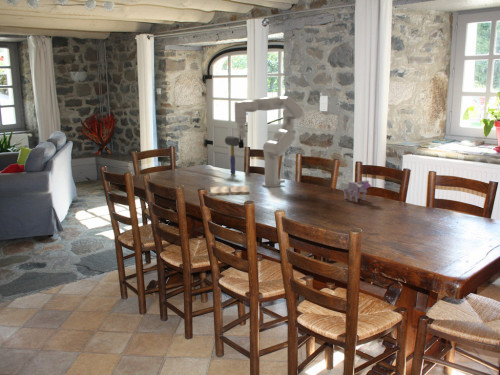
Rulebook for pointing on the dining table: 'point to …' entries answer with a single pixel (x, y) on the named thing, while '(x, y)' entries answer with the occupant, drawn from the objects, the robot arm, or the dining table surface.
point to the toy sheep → (358, 187)
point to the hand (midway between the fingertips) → (241, 147)
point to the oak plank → (219, 191)
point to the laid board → (239, 190)
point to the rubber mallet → (232, 150)
